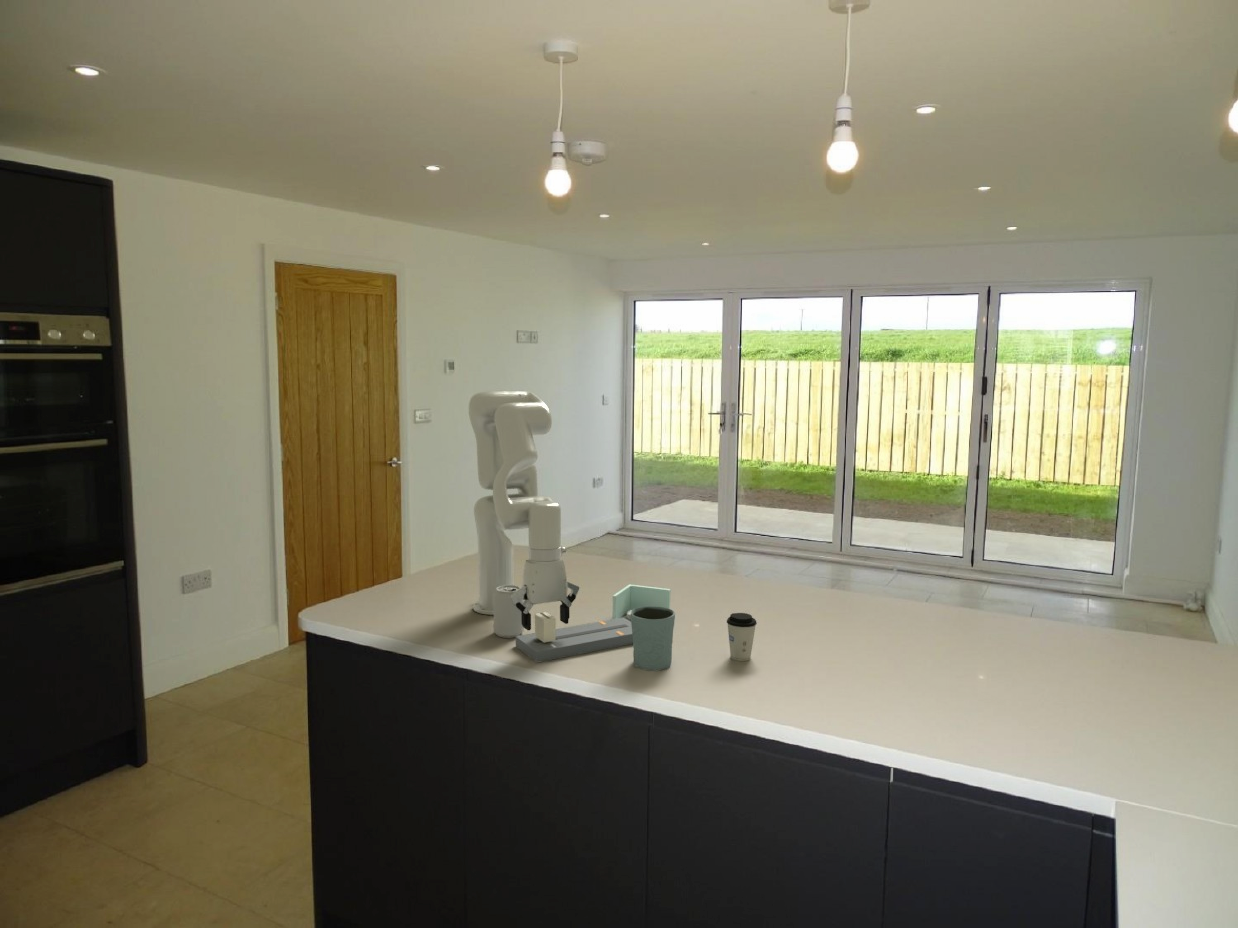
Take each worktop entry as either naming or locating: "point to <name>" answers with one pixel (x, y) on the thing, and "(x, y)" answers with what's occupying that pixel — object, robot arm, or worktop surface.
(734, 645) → the coffee cup
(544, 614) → the fader tab
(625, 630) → the fader console
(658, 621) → the teal embossed cup
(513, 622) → the can
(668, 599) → the right angle wall
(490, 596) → the robot arm
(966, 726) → the worktop surface
